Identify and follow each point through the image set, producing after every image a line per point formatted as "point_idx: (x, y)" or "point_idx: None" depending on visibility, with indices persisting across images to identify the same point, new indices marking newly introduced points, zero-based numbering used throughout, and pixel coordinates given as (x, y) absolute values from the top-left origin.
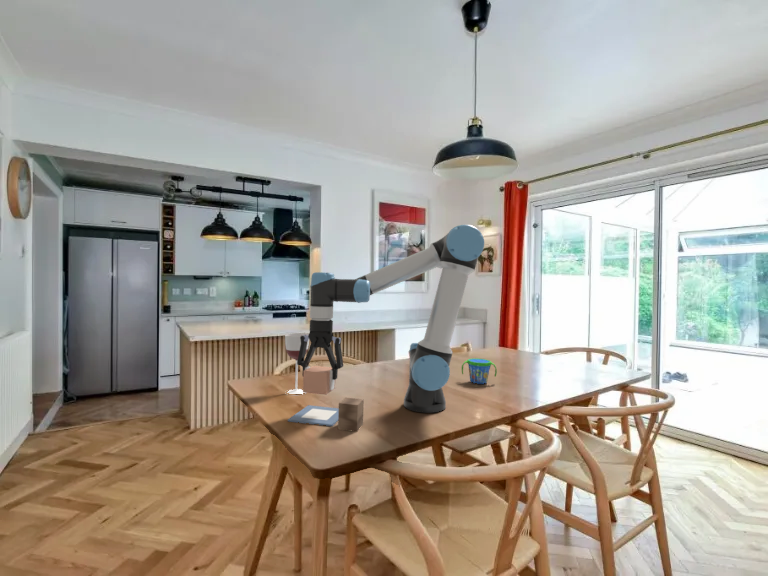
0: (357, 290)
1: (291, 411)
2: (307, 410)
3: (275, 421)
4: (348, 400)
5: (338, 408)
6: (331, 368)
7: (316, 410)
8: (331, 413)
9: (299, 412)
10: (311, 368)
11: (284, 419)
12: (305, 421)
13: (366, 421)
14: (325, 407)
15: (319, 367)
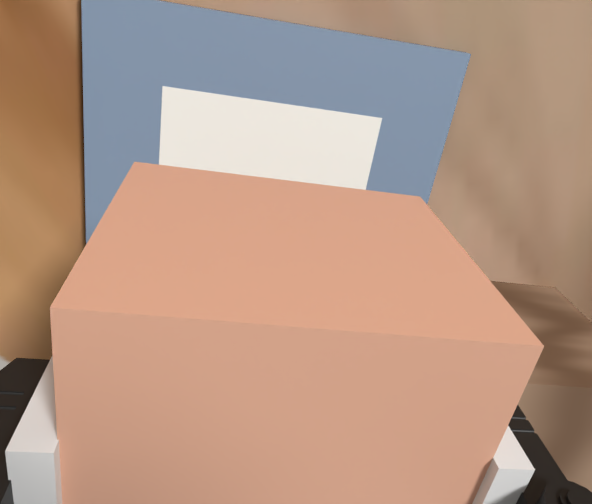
0: None
1: (3, 136)
2: (139, 141)
3: (14, 335)
4: (543, 436)
5: (384, 43)
6: (467, 420)
7: (212, 128)
8: (346, 176)
9: (97, 194)
10: (118, 498)
11: (50, 296)
12: None
13: (582, 237)
14: (265, 33)
15: (230, 404)
